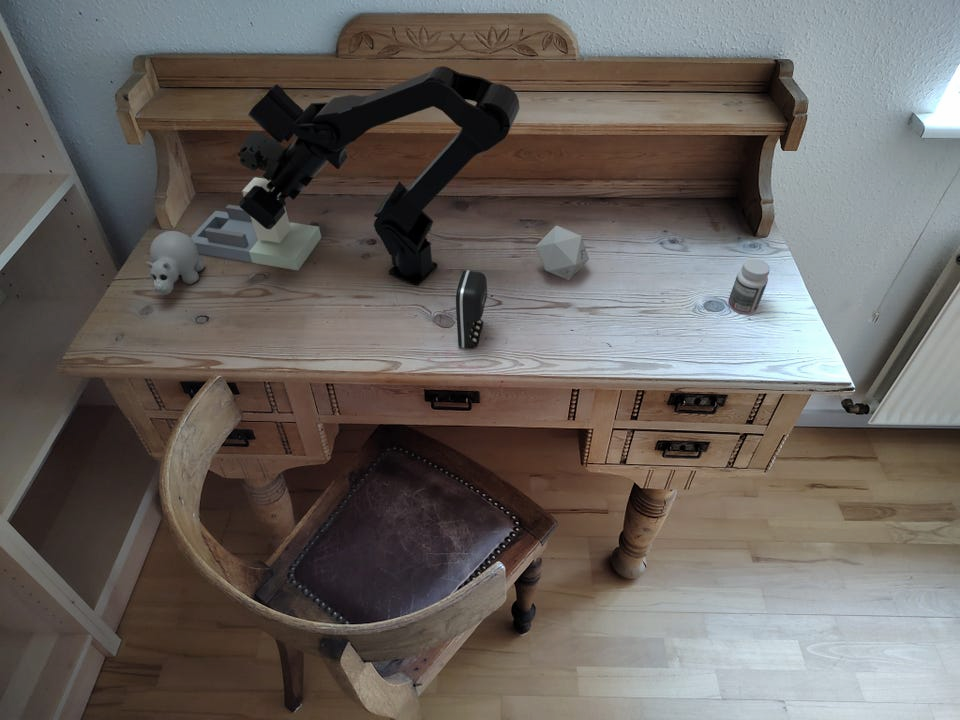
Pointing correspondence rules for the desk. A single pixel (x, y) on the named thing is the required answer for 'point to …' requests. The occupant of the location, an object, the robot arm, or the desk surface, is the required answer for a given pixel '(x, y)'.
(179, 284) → the desk surface
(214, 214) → the channel
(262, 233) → the block
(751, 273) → the pill bottle
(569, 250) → the die
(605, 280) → the desk surface
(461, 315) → the battery charger
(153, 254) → the grey rounded figurine
